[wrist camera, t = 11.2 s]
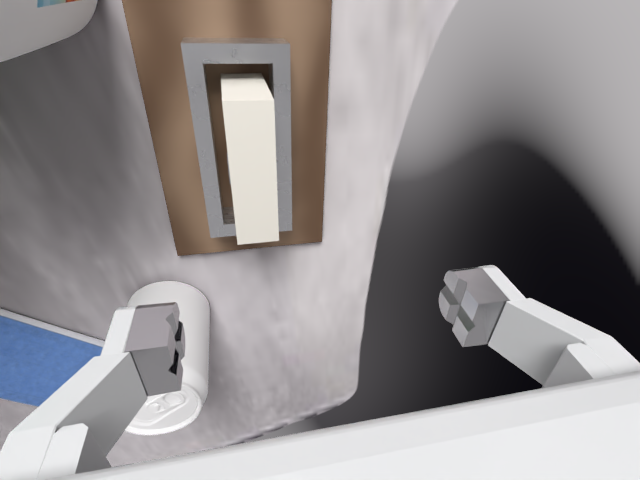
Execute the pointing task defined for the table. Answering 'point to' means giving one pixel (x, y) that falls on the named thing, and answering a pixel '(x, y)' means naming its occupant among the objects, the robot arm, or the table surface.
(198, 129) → the bottom track
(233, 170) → the door panel
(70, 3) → the milk bottle
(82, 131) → the table surface
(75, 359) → the tablet computer
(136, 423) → the beverage can
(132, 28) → the track board
